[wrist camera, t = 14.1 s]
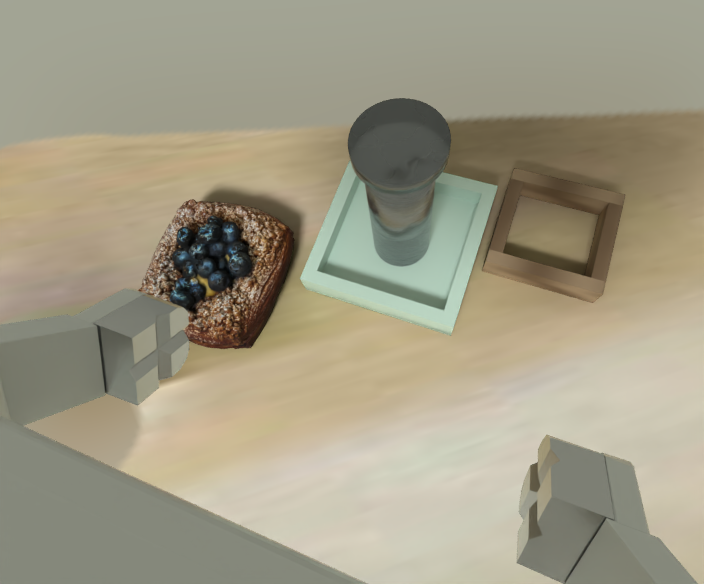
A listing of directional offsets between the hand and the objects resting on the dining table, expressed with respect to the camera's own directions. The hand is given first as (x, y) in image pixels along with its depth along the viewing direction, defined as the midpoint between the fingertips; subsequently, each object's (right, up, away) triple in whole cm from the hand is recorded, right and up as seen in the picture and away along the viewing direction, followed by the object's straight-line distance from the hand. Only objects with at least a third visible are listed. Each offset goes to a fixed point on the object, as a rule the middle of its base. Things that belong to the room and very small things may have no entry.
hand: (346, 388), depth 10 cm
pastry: (-11, +3, +30) cm, 32 cm away
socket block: (+16, +6, +28) cm, 32 cm away
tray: (+4, +6, +29) cm, 30 cm away
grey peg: (+4, +6, +28) cm, 29 cm away
